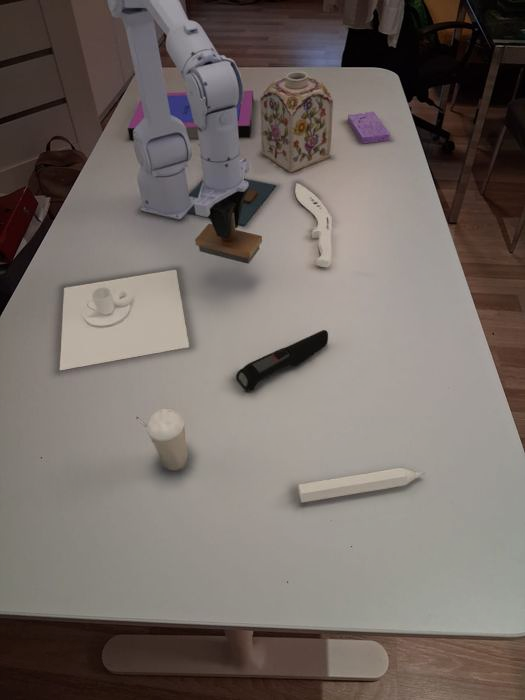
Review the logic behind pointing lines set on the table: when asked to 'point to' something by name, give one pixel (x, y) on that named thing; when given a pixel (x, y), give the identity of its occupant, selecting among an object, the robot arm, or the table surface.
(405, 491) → the table surface
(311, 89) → the decorative jar
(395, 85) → the table surface
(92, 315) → the teacup and saucer
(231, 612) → the table surface
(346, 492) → the white pencil
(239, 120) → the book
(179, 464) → the milkshake
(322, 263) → the knife
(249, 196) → the grime chip
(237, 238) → the brush
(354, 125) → the sponge
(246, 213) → the mat
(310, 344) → the electric trimmer
